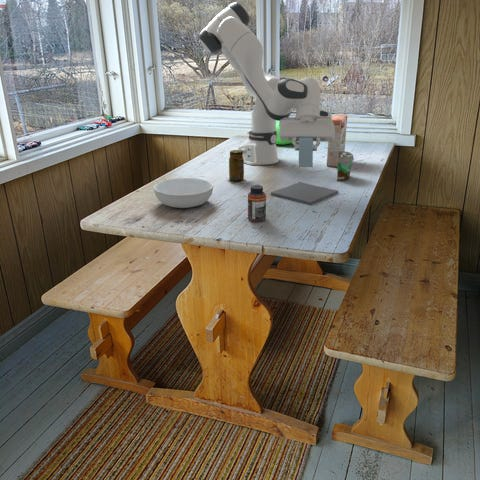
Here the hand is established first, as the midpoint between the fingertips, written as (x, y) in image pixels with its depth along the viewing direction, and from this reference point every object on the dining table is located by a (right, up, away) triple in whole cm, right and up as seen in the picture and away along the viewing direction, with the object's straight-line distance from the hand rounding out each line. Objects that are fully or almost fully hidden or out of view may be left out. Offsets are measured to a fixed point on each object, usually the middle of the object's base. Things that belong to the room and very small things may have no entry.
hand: (305, 149), depth 183 cm
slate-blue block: (0, -5, +3) cm, 6 cm away
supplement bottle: (-18, -26, -17) cm, 36 cm away
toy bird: (-2, +18, +87) cm, 89 cm away
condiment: (-25, -8, +25) cm, 37 cm away
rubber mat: (0, -15, +7) cm, 17 cm away
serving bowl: (-44, -20, -1) cm, 48 cm away
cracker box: (+20, +2, +48) cm, 52 cm away
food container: (+19, -7, +26) cm, 33 cm away
